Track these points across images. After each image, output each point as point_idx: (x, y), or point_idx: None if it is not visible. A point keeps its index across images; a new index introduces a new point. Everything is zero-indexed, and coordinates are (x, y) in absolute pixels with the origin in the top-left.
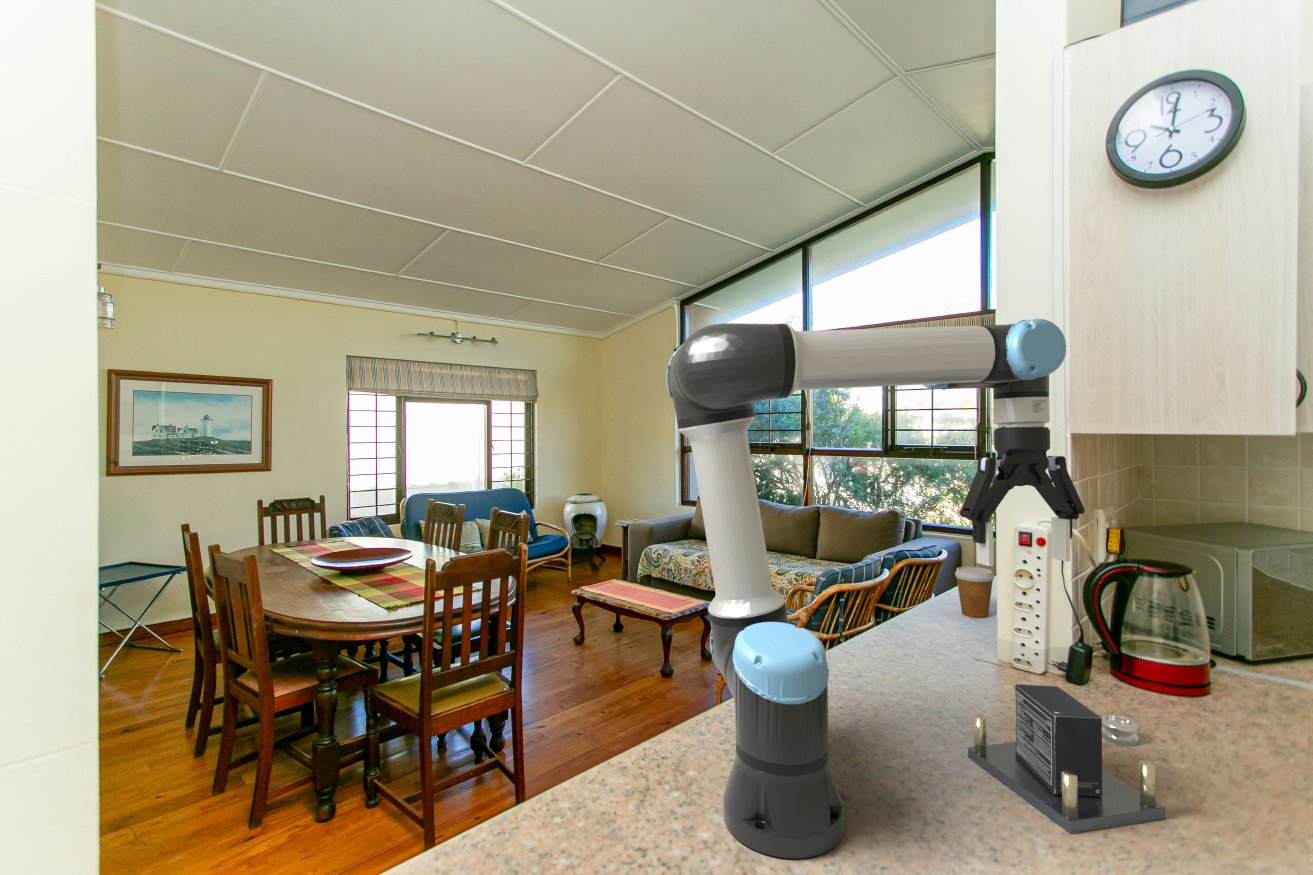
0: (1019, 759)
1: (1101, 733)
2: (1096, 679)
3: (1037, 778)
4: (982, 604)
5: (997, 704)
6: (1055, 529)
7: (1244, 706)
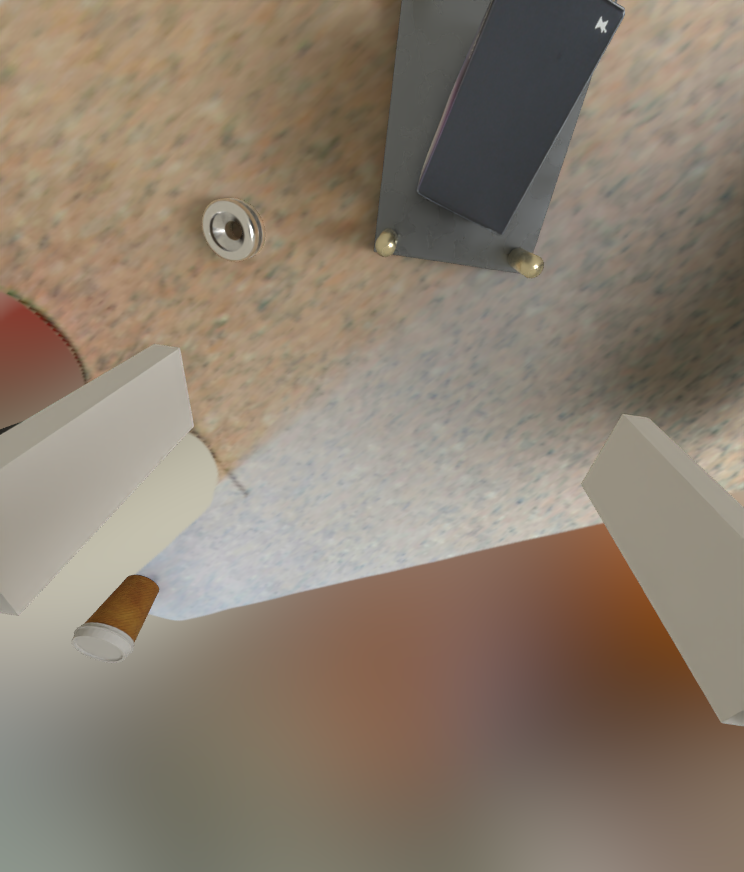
0: None
1: None
2: None
3: None
4: (128, 592)
5: (331, 383)
6: (79, 512)
7: None
